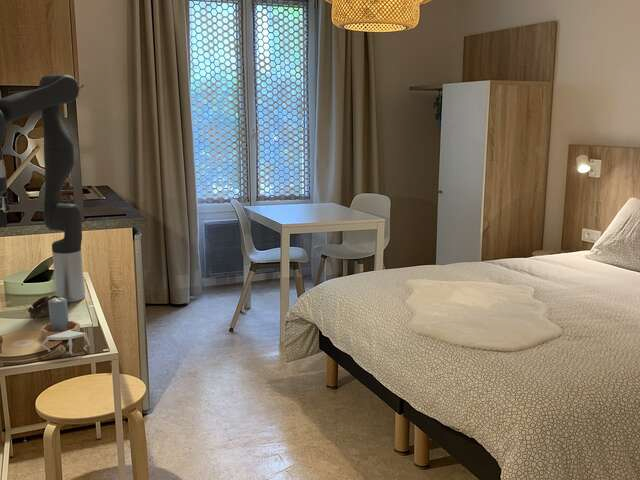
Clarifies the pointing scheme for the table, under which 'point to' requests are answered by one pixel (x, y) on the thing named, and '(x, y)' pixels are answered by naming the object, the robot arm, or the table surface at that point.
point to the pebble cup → (58, 314)
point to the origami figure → (64, 336)
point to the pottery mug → (43, 306)
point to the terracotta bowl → (47, 332)
